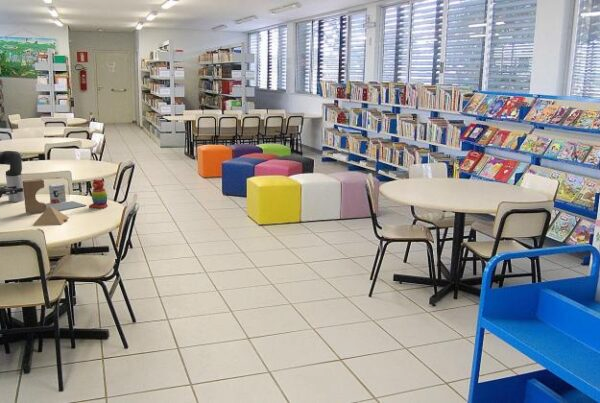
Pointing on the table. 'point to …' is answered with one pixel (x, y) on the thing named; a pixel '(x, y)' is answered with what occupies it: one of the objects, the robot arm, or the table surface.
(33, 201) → the decorative block
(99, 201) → the stacking bear
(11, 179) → the robot arm
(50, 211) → the model pyramid
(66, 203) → the mat
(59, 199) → the ink box
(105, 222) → the table surface
